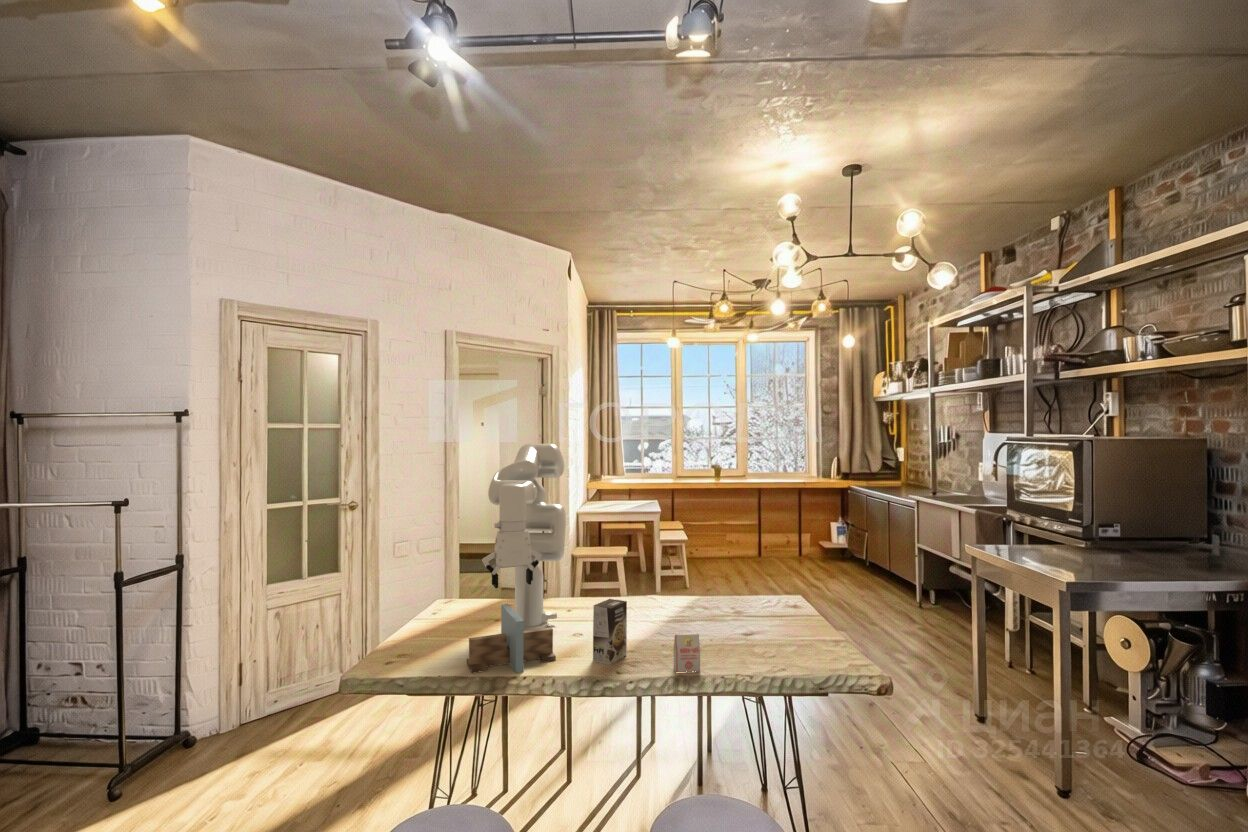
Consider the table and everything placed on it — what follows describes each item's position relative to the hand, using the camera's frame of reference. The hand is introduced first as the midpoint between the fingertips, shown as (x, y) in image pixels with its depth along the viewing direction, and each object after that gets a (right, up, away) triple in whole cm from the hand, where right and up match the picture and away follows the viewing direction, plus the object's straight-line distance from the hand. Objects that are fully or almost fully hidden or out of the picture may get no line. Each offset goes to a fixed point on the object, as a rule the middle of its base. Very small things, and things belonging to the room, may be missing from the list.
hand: (512, 585), depth 177 cm
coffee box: (+28, -22, +2) cm, 36 cm away
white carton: (+50, -22, -7) cm, 55 cm away
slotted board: (0, -22, -1) cm, 22 cm away
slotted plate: (0, -22, -1) cm, 22 cm away
